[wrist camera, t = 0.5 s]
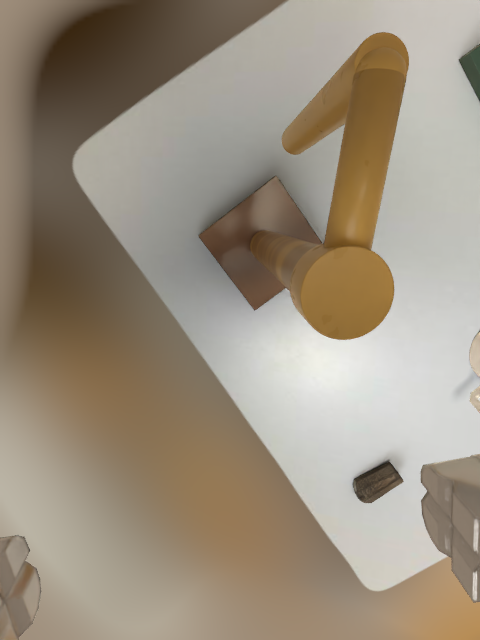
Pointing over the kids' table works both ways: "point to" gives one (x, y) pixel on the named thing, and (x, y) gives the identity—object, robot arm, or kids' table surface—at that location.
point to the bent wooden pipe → (351, 190)
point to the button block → (472, 68)
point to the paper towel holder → (261, 242)
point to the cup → (475, 369)
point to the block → (376, 483)
